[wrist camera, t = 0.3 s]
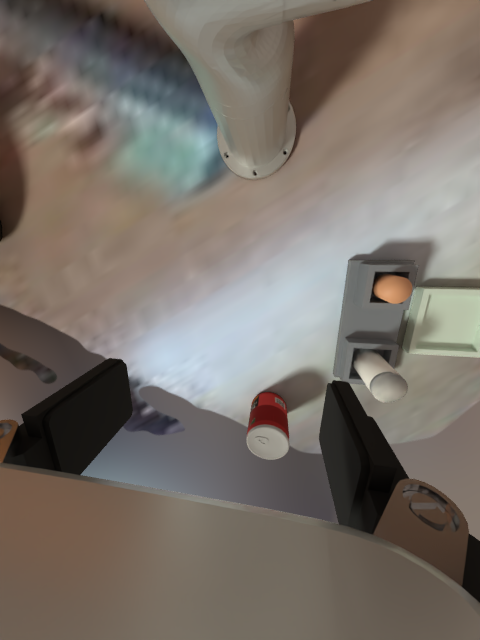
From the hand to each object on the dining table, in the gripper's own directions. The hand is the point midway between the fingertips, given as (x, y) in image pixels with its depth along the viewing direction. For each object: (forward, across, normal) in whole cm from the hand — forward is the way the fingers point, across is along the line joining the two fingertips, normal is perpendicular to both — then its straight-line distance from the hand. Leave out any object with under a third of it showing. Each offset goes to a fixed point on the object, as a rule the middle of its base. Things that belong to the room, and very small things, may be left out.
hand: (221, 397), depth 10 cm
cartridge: (+34, -21, +13) cm, 42 cm away
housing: (+36, -20, +6) cm, 42 cm away
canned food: (+36, -3, +28) cm, 45 cm away
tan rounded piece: (+31, -20, -1) cm, 38 cm away
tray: (+36, -34, +5) cm, 49 cm away
